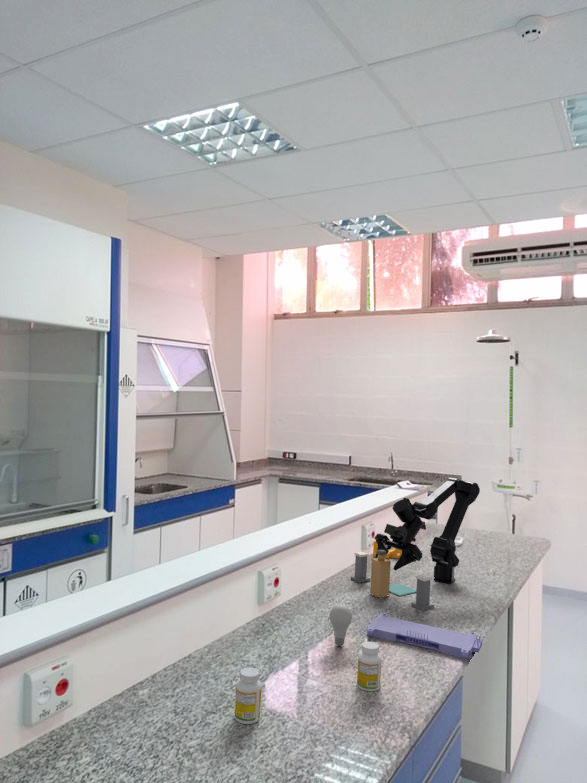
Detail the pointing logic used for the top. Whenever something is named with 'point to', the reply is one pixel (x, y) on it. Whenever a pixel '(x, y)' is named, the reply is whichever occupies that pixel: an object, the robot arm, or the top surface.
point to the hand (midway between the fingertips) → (384, 565)
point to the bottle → (380, 575)
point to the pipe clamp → (391, 553)
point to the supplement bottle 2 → (369, 667)
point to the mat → (401, 589)
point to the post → (423, 593)
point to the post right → (360, 567)
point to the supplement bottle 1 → (248, 696)
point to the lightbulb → (340, 622)
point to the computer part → (425, 636)
